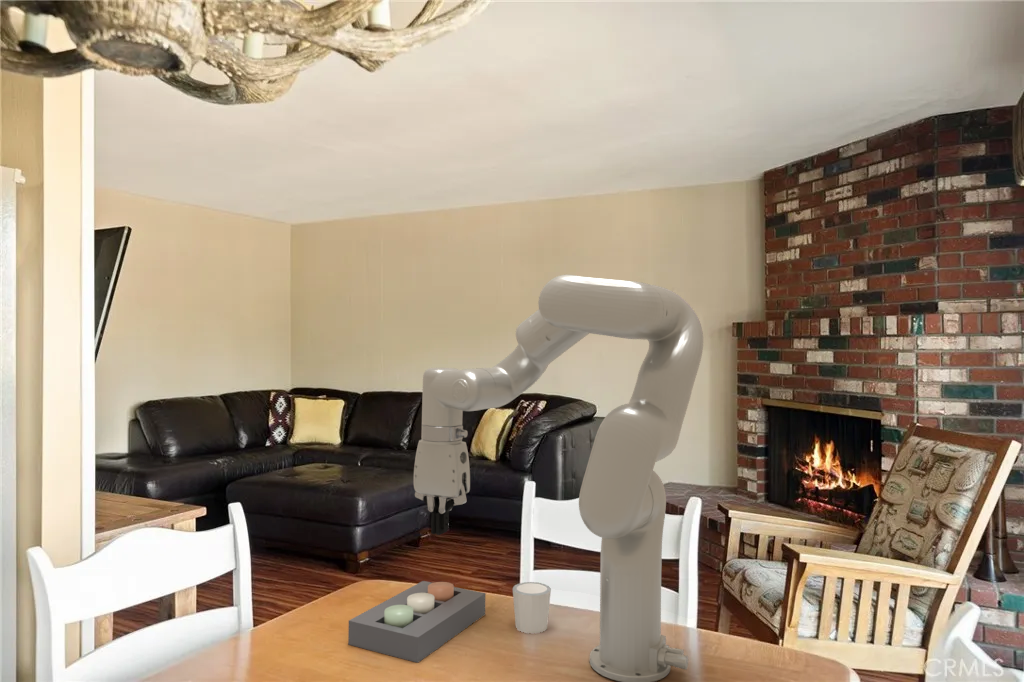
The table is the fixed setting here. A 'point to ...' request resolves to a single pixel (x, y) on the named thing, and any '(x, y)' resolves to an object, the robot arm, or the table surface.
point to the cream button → (421, 602)
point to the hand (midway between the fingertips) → (439, 532)
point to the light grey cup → (531, 606)
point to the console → (416, 624)
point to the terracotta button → (441, 591)
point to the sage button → (398, 615)
